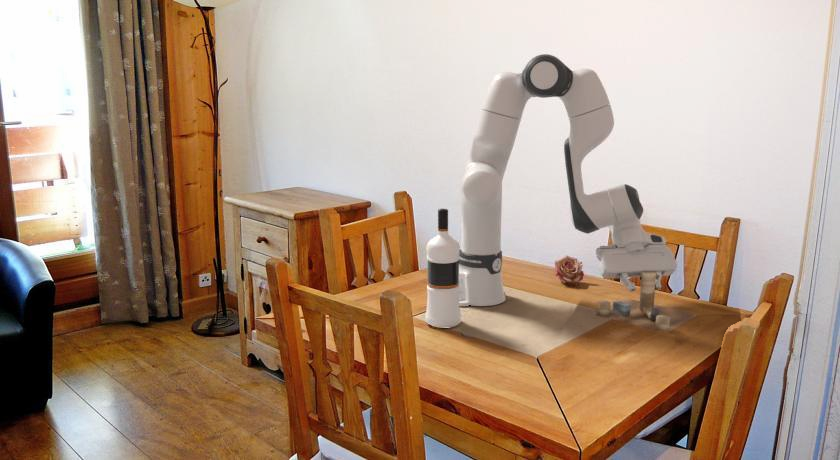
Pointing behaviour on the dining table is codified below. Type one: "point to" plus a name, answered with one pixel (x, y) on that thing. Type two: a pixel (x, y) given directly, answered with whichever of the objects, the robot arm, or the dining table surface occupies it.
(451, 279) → the vodka
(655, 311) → the leg
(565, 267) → the flower
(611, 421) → the dining table surface
